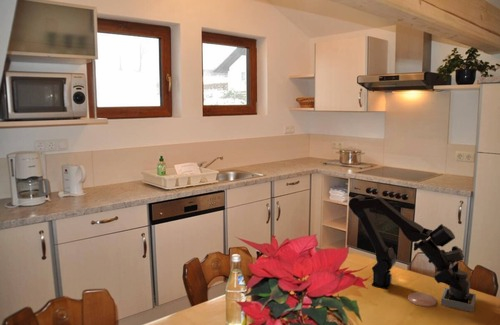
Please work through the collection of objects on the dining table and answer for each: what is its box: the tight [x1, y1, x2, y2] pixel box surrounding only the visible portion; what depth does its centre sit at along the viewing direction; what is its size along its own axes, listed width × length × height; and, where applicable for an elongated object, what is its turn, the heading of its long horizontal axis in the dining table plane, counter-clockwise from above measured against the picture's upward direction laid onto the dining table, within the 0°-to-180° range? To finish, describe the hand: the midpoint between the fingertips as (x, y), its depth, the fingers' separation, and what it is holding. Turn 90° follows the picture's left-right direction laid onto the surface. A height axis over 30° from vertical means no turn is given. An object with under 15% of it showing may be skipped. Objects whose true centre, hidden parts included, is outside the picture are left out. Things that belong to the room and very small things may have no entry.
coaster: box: [407, 292, 437, 308], centre depth 158 cm, size 10×10×1 cm
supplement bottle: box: [448, 269, 471, 304], centre depth 155 cm, size 7×7×12 cm
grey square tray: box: [440, 287, 477, 313], centre depth 156 cm, size 11×11×2 cm
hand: (463, 287), depth 154 cm, fingers closed on supplement bottle, 7 cm apart
